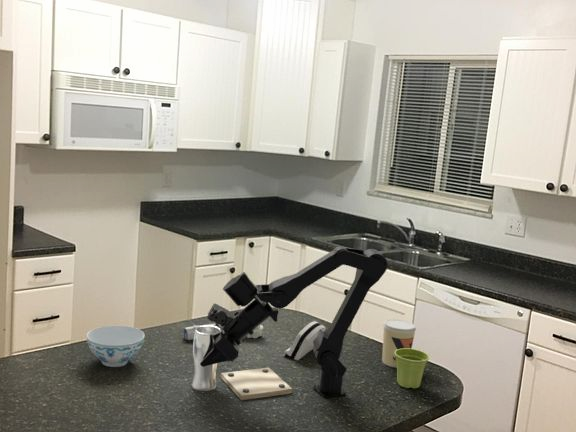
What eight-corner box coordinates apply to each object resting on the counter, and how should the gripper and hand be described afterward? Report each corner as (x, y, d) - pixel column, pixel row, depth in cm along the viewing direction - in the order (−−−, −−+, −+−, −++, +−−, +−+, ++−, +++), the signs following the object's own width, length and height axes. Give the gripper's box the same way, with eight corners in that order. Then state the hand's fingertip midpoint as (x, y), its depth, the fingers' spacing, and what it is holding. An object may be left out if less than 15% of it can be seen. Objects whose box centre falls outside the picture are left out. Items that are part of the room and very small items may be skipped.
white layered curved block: (304, 340, 202) (316, 314, 199) (316, 348, 200) (329, 322, 197) (281, 356, 187) (295, 328, 184) (295, 365, 185) (309, 336, 182)
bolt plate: (291, 393, 162) (292, 387, 162) (241, 400, 156) (241, 394, 156) (268, 371, 175) (268, 366, 174) (220, 377, 168) (221, 372, 168)
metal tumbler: (187, 381, 164) (191, 325, 161) (213, 379, 166) (217, 324, 164) (194, 393, 157) (198, 335, 155) (221, 390, 160) (225, 333, 158)
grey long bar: (182, 324, 195) (259, 311, 204) (183, 345, 196) (260, 331, 205) (185, 330, 190) (264, 316, 199) (187, 351, 192) (265, 336, 201)
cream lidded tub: (390, 370, 184) (395, 330, 182) (373, 358, 192) (378, 319, 190) (417, 367, 187) (422, 328, 185) (399, 355, 196) (404, 318, 194)
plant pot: (384, 383, 174) (388, 352, 173) (402, 374, 181) (405, 345, 180) (414, 395, 168) (418, 363, 167) (431, 385, 175) (435, 355, 174)
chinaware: (132, 349, 182) (133, 323, 181) (151, 368, 170) (153, 340, 169) (78, 355, 174) (79, 328, 173) (95, 377, 162) (96, 348, 161)
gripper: (228, 285, 168) (183, 323, 168) (228, 306, 149) (177, 348, 150) (255, 315, 170) (211, 353, 170) (258, 340, 152) (208, 382, 152)
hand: (201, 358), depth 161 cm, fingers open, 9 cm apart
